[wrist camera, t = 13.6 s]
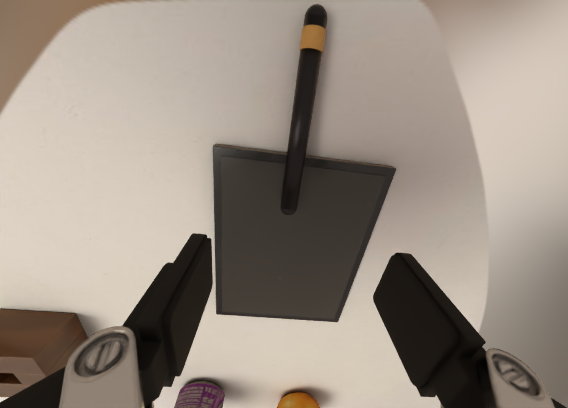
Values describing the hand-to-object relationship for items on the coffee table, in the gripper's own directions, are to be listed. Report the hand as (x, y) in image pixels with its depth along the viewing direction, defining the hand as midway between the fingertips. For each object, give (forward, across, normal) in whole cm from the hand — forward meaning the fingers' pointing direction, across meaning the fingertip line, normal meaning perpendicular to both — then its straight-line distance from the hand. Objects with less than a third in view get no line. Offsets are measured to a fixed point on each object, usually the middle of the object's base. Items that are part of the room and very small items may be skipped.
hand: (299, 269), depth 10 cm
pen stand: (+10, +28, +24) cm, 38 cm away
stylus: (+8, 0, +2) cm, 8 cm away
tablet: (+10, -1, +7) cm, 12 cm away
